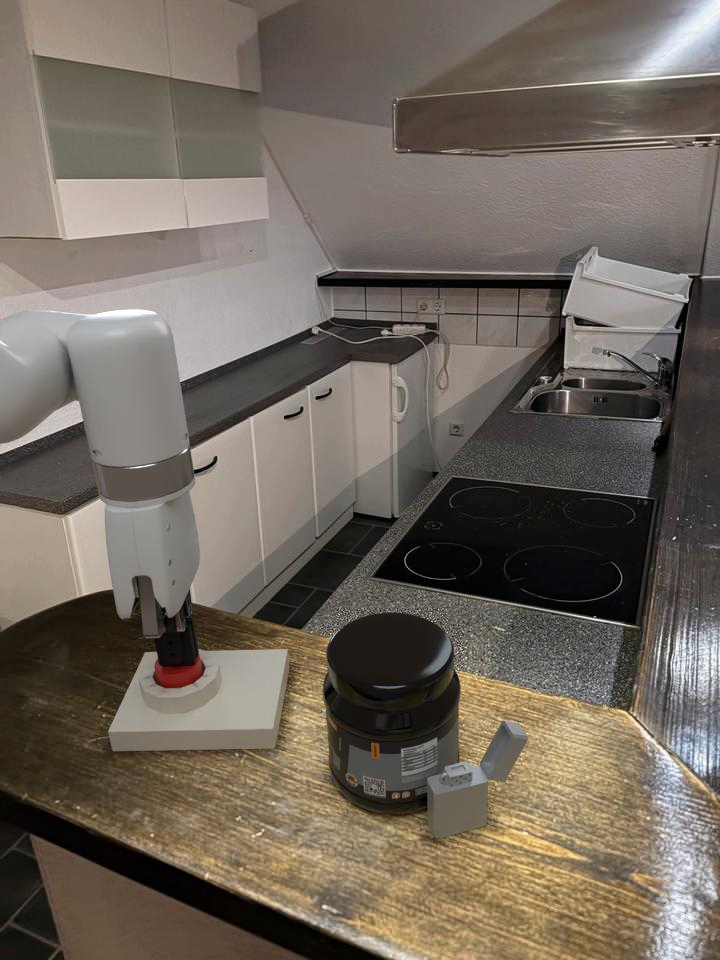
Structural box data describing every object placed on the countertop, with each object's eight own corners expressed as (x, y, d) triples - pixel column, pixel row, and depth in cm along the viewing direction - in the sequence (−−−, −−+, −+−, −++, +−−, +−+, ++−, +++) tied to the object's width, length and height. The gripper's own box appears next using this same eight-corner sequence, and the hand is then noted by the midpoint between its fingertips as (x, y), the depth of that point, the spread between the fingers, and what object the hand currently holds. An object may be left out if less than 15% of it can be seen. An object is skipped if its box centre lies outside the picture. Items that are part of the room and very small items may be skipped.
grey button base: (112, 751, 65) (103, 714, 63) (148, 670, 75) (141, 636, 73) (275, 749, 64) (271, 711, 63) (289, 667, 74) (286, 633, 73)
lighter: (435, 839, 55) (434, 754, 52) (426, 821, 57) (425, 737, 54) (524, 815, 57) (529, 731, 54) (514, 798, 58) (518, 715, 55)
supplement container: (371, 709, 68) (366, 594, 63) (480, 750, 63) (483, 629, 58) (303, 788, 60) (290, 664, 55) (422, 843, 55) (419, 711, 50)
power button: (152, 694, 67) (148, 675, 66) (164, 666, 70) (161, 647, 70) (197, 693, 67) (194, 674, 66) (207, 665, 70) (204, 646, 69)
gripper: (127, 439, 67) (160, 614, 75) (62, 514, 54) (110, 720, 61) (211, 436, 67) (236, 612, 74) (167, 510, 53) (203, 717, 61)
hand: (179, 660), depth 68 cm, fingers closed
